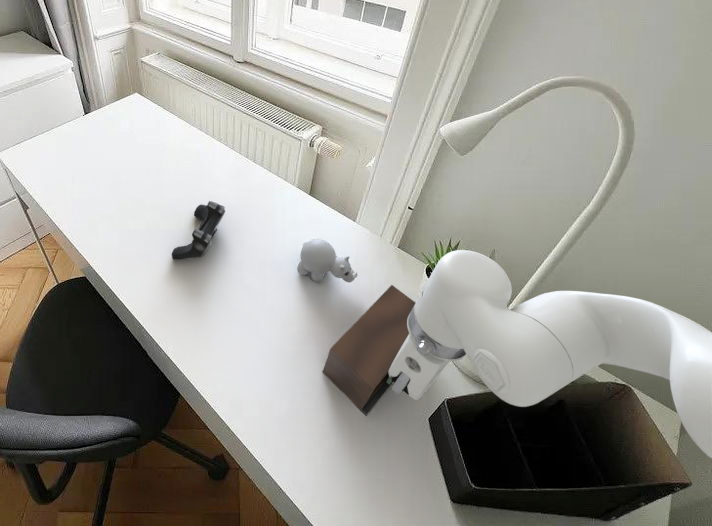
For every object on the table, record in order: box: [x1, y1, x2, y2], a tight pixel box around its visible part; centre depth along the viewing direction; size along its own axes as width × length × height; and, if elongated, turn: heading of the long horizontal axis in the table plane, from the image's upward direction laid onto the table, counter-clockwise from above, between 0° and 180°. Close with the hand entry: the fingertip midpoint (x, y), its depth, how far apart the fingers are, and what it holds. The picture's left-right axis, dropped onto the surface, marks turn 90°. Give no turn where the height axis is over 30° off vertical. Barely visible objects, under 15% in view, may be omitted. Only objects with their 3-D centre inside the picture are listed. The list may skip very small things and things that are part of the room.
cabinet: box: [322, 284, 416, 417], centre depth 71 cm, size 9×18×9 cm, turn 130°
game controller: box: [171, 200, 226, 261], centre depth 93 cm, size 16×7×10 cm, turn 159°
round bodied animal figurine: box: [296, 238, 358, 283], centre depth 84 cm, size 7×12×8 cm, turn 54°
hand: (402, 384), depth 64 cm, fingers closed
